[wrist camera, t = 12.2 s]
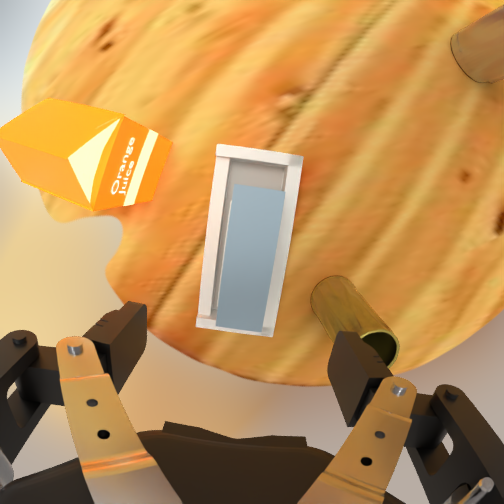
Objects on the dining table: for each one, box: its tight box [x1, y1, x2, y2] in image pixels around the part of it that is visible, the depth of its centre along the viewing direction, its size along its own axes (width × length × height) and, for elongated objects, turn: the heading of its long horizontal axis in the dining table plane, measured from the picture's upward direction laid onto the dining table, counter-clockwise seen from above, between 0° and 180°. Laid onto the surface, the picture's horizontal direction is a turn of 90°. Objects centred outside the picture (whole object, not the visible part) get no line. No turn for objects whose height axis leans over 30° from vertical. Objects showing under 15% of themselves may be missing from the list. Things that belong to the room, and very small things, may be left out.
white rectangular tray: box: [196, 144, 303, 337], centre depth 33 cm, size 9×20×4 cm, turn 172°
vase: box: [311, 276, 400, 369], centre depth 30 cm, size 6×6×14 cm
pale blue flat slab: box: [216, 184, 286, 332], centre depth 29 cm, size 4×12×10 cm, turn 172°
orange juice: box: [0, 98, 173, 212], centre depth 23 cm, size 8×9×20 cm
